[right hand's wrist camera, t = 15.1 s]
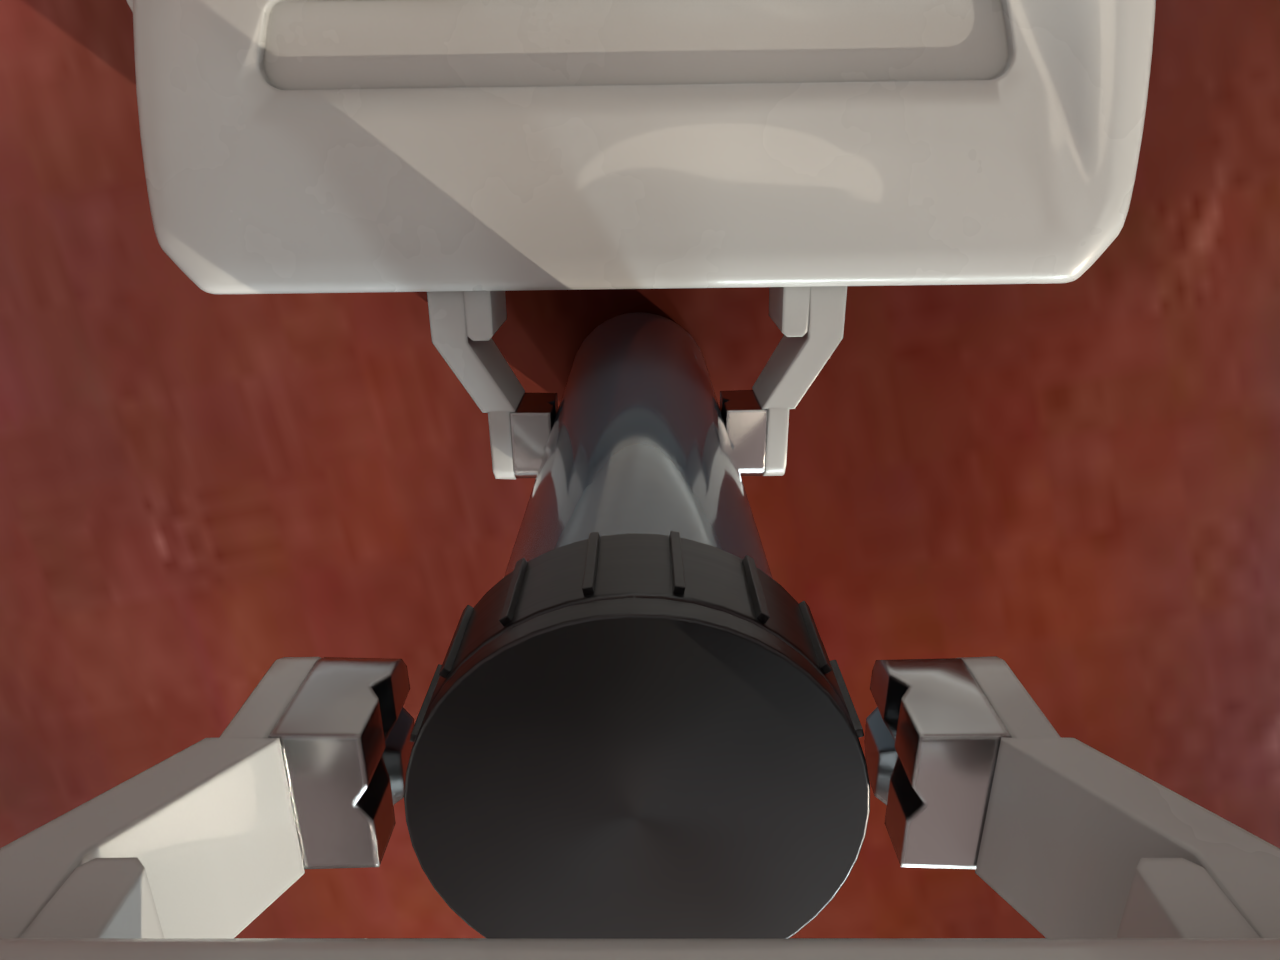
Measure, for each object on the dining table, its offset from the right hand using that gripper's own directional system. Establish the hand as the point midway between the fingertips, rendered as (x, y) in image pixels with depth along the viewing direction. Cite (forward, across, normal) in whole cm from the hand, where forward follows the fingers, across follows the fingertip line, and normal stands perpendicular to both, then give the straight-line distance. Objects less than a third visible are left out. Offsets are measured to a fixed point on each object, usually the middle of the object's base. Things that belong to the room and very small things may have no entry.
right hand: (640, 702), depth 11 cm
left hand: (+11, 0, -1) cm, 11 cm away
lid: (-2, 0, 0) cm, 2 cm away
